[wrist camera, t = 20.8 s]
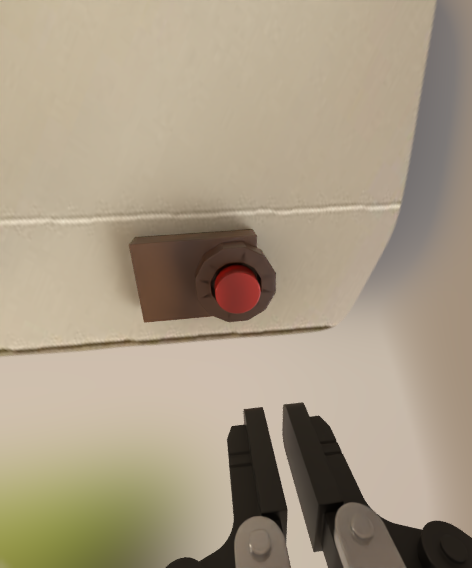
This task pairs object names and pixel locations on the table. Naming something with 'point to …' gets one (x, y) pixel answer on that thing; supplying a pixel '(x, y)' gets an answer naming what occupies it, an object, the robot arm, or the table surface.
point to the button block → (195, 273)
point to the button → (237, 289)
